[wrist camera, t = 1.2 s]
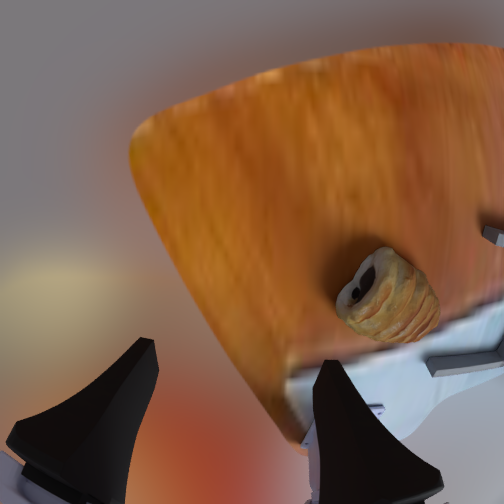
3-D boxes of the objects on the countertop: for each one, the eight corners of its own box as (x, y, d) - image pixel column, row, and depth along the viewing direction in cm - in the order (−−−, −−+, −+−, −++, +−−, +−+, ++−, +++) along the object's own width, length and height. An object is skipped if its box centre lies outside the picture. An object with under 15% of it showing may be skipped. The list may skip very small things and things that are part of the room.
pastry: (447, 289, 20) (468, 313, 16) (400, 344, 22) (413, 373, 19) (376, 235, 18) (396, 257, 15) (323, 305, 21) (330, 337, 18)
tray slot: (496, 356, 22) (503, 366, 21) (425, 364, 23) (432, 377, 21) (547, 246, 17) (557, 253, 15) (485, 225, 17) (499, 233, 15)
